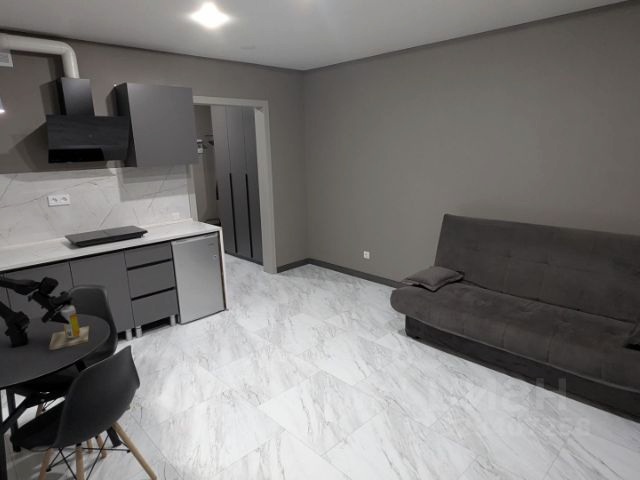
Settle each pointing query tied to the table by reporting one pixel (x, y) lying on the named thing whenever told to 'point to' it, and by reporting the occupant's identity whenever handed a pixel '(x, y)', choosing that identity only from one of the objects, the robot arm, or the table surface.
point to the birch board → (68, 339)
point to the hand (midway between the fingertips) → (72, 320)
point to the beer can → (71, 316)
